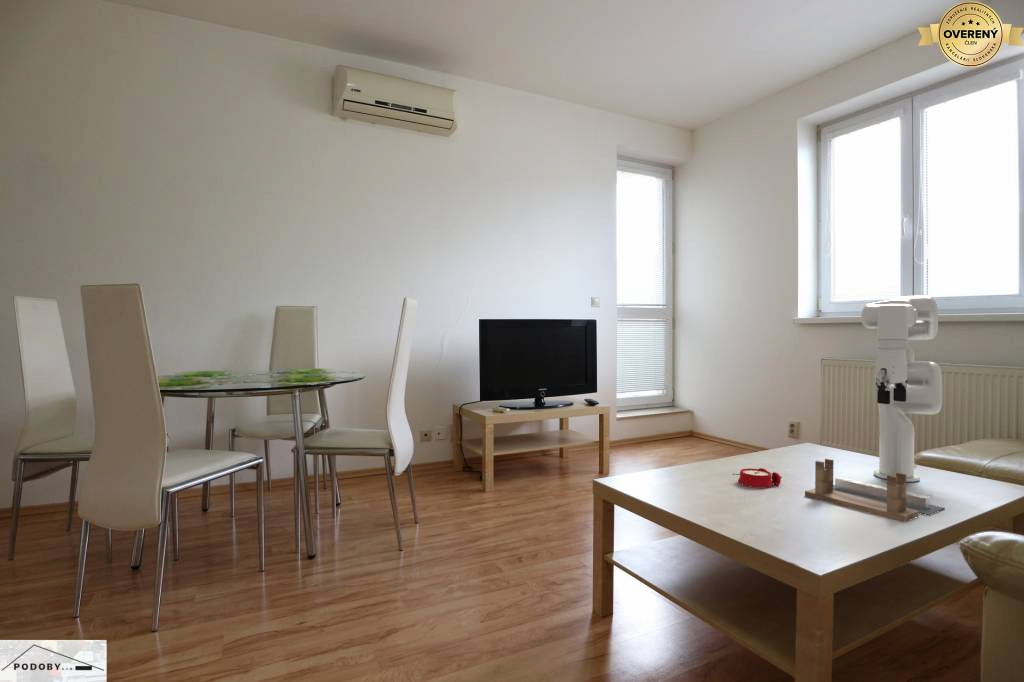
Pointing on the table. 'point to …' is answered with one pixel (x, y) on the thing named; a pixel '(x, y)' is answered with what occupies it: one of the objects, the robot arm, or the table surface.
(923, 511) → the rubber mat
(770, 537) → the table surface
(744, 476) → the alarm clock
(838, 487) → the steel rail
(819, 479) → the walnut rail stand
